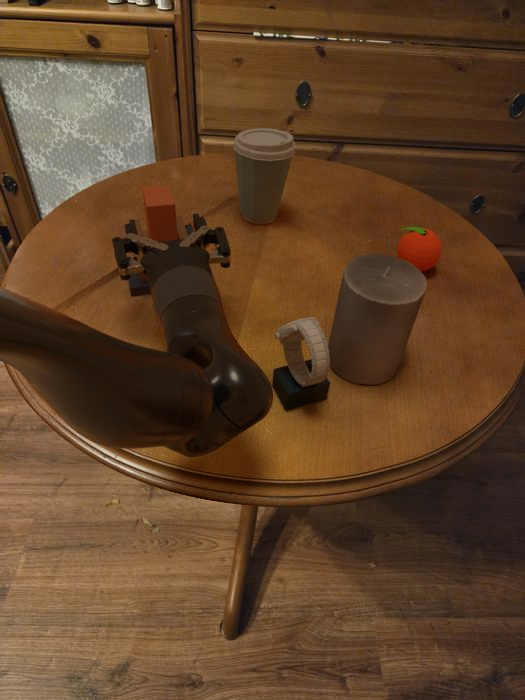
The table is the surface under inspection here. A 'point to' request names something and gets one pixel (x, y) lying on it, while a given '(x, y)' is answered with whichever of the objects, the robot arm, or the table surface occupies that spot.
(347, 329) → the pillar candle
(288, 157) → the disposable coffee cup
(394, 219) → the table surface
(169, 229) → the red rectangular block
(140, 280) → the base
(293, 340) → the watch
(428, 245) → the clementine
